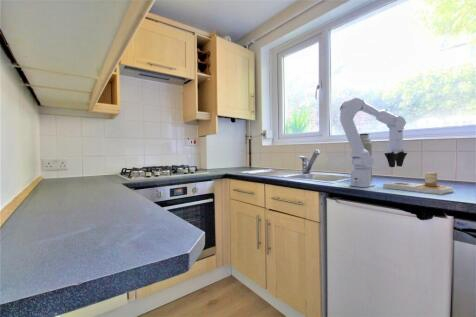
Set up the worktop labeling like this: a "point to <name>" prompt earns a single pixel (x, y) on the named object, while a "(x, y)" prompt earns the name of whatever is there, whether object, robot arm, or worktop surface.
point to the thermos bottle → (367, 145)
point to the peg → (431, 179)
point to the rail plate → (418, 187)
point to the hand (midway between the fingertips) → (395, 166)
